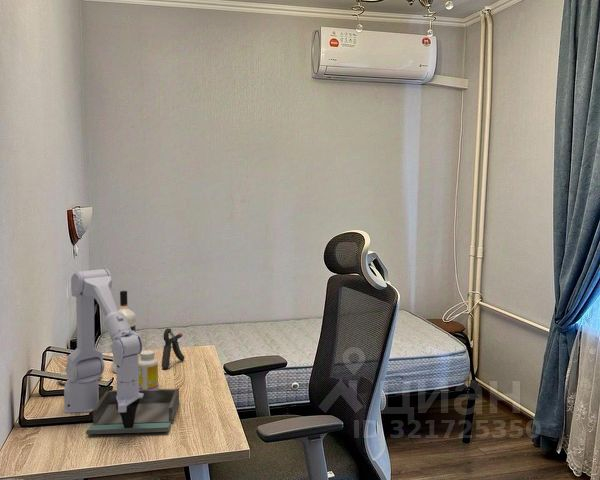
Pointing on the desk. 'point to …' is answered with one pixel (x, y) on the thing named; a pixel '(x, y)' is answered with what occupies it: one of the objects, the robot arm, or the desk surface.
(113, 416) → the box
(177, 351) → the hand grip strengthener
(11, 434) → the desk surface
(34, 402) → the desk surface
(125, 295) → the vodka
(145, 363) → the supplement bottle
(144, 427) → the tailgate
